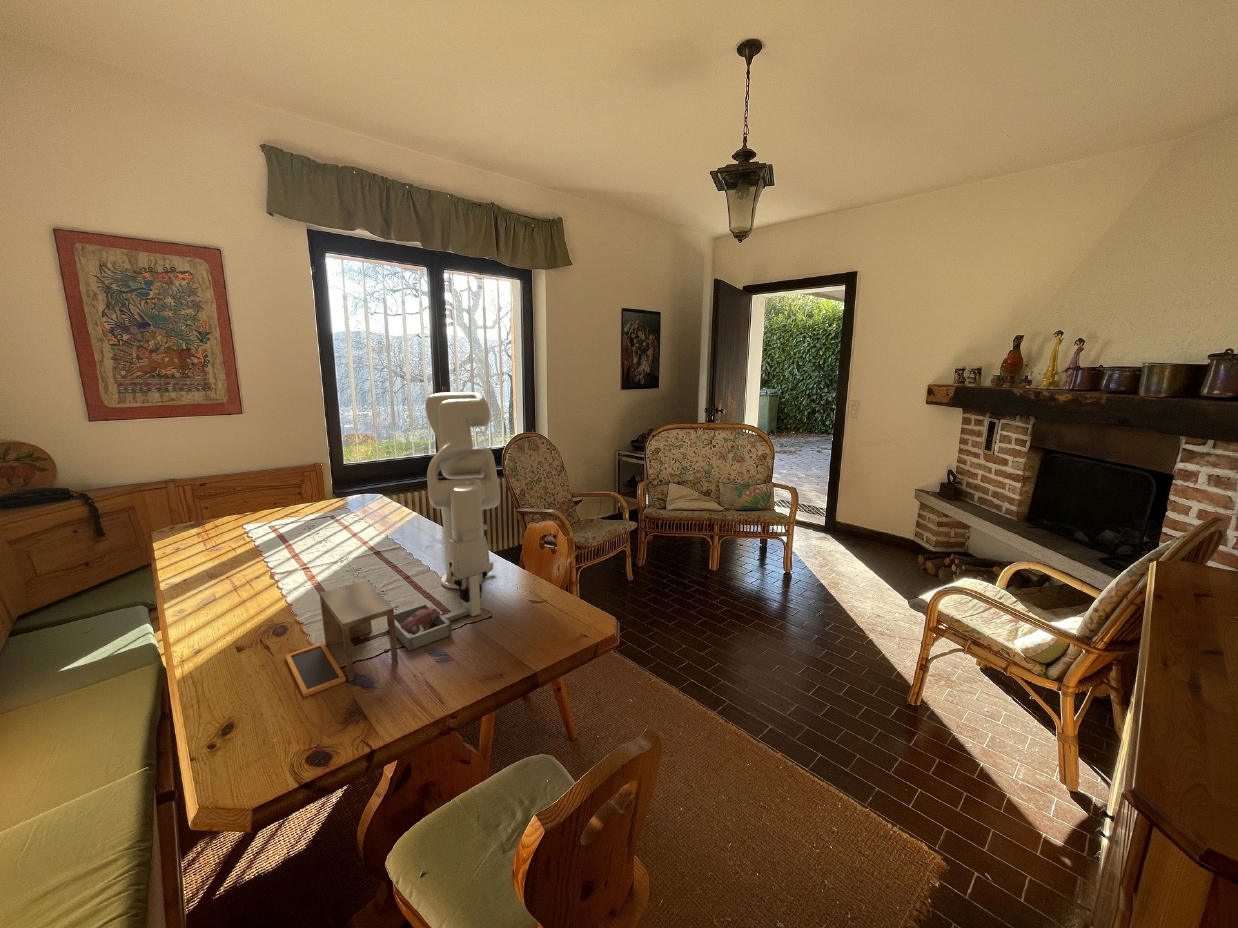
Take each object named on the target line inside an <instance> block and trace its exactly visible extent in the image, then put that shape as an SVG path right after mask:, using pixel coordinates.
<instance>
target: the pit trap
mask: <svg viewBox="0 0 1238 928" xmlns="http://www.w3.org/2000/svg"><path fill="white" fill-rule="evenodd" d="M284 656H285V661H286V662H287V665H288V667H289V669H290V670H291V673H292V675H293V677H294V679H295V681H296V683H297V685H298V688H299V690H300V691H301V693H302V696H303V698H305V697H308V696H311V695H313V694H316V693H318V692H321V691H323V690H326V689H328V688H331V687H335V686H337V685H339V684H341V683H344V682H346V681H347V679H346V678H347V676H345V674H344V673H343V671H342V669H341V668H340V666H339V665H338V663H337V661H336V660H335V658H334V657H333V655H332V654H331V652H330V651H329V649H328V646H326V644H325V642H322V643H317V644H315V645H312V646H308V647H306V648H303V649H300V650H296V651H294V652H291V653H288V654H286V655H284Z"/></svg>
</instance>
